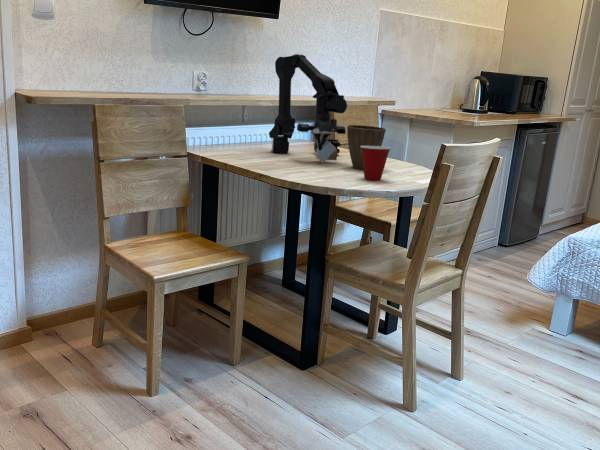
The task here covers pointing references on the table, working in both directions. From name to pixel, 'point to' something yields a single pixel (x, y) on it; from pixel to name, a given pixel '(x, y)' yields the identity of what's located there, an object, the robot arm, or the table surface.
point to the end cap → (332, 141)
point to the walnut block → (332, 156)
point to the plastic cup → (374, 161)
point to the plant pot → (362, 141)
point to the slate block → (325, 151)
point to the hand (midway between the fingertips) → (319, 150)
